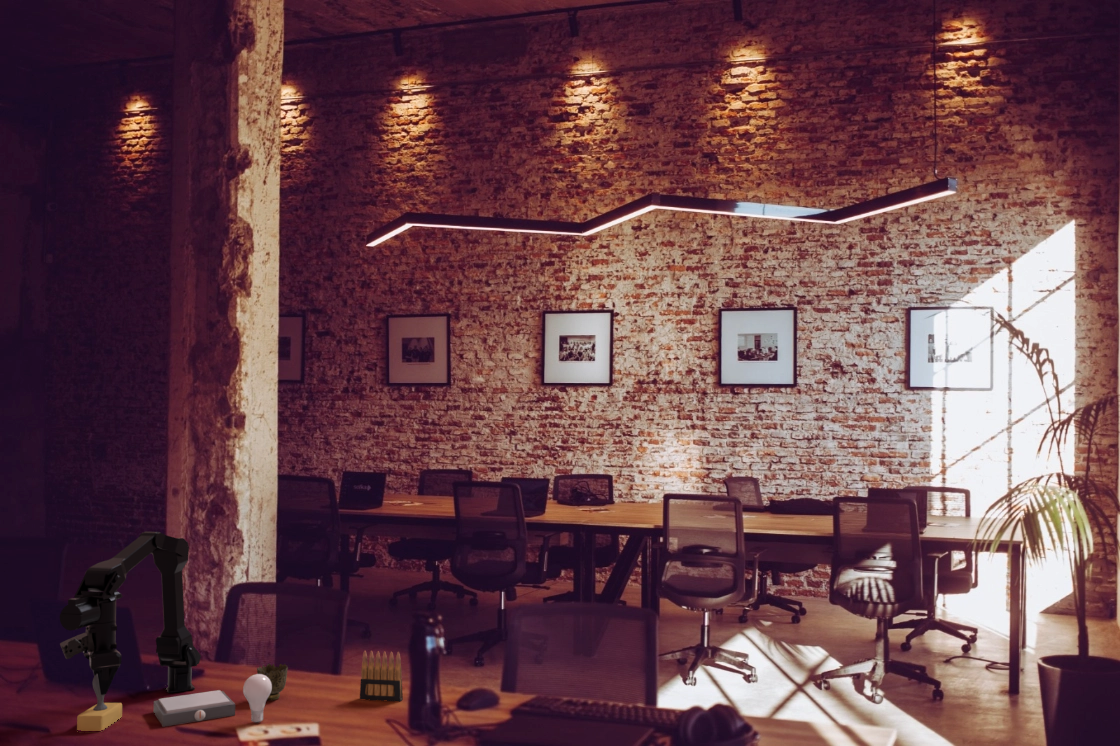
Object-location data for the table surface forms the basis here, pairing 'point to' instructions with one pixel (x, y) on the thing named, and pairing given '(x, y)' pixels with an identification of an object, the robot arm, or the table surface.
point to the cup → (275, 678)
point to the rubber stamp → (99, 713)
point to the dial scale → (193, 708)
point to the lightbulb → (257, 695)
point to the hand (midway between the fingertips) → (101, 689)
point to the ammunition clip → (381, 678)
